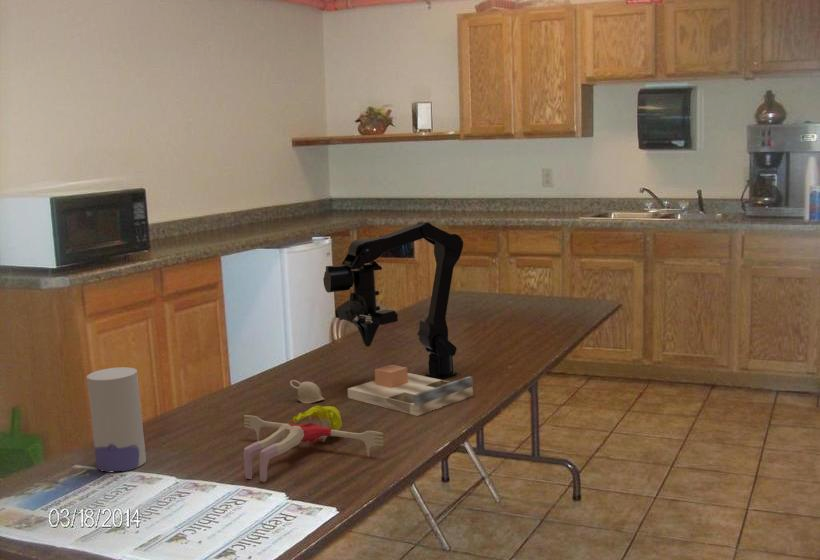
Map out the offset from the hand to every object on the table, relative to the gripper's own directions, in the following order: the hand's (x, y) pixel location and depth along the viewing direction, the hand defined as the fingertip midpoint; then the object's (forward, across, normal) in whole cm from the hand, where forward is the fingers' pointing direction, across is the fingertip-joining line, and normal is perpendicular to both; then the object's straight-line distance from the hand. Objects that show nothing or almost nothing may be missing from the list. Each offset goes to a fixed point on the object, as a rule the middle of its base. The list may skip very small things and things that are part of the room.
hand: (367, 346), depth 235 cm
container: (+11, 0, -71) cm, 72 cm away
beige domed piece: (+12, -4, -18) cm, 22 cm away
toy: (+12, +26, -44) cm, 53 cm away
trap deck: (+11, +15, 0) cm, 19 cm away
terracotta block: (+9, +8, 0) cm, 12 cm away
